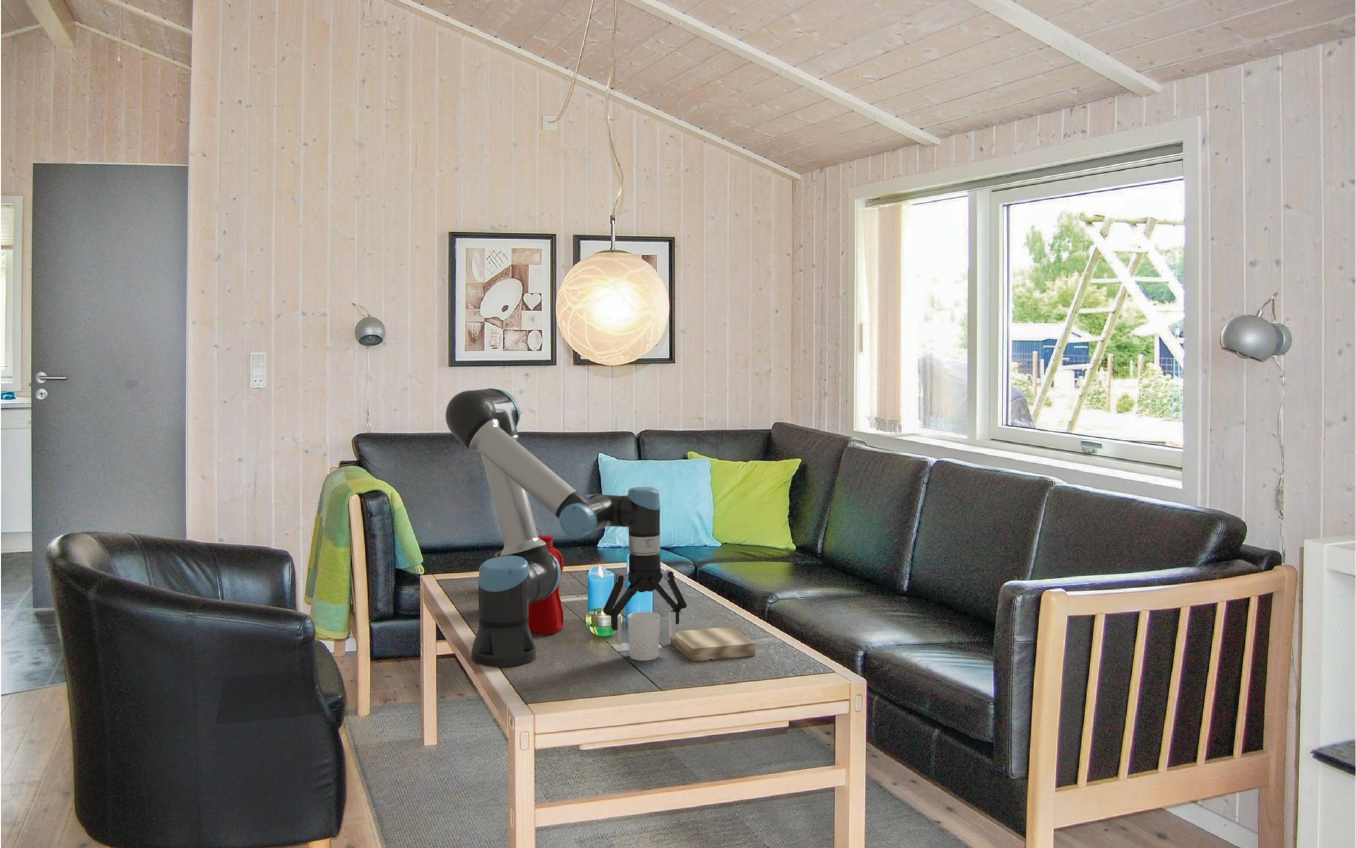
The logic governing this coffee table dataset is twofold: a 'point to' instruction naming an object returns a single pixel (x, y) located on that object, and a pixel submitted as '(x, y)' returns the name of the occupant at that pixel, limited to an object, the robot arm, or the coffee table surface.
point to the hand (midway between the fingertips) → (645, 640)
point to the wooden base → (713, 644)
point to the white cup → (643, 635)
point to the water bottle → (547, 603)
